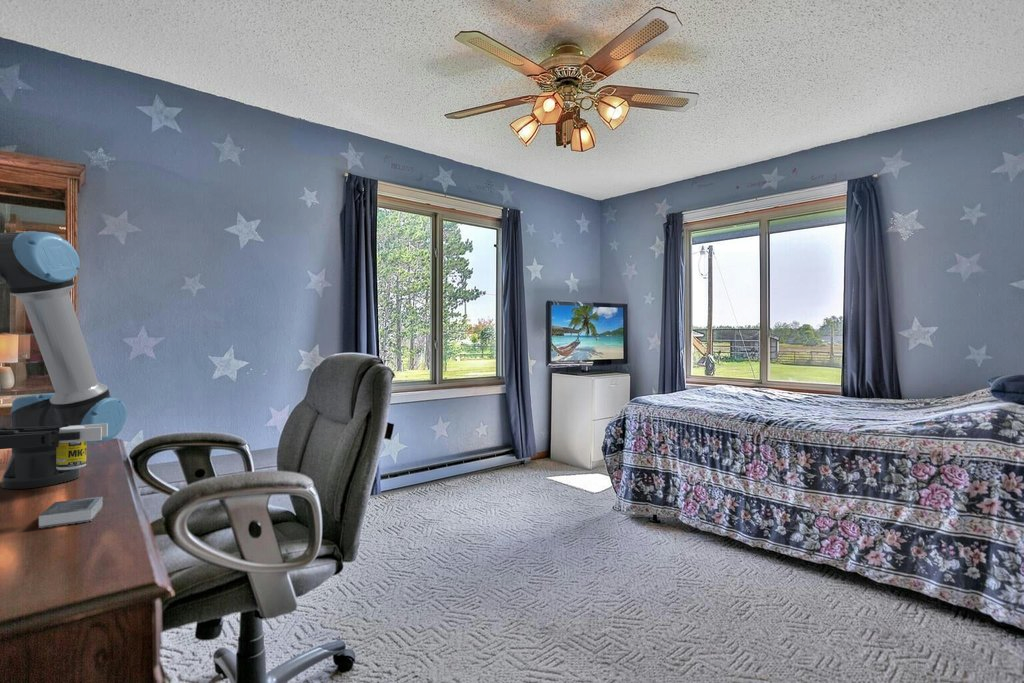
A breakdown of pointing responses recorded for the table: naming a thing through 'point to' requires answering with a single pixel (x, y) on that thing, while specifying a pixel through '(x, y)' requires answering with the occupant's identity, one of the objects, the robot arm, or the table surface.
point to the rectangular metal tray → (71, 512)
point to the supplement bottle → (71, 453)
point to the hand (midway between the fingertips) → (104, 431)
